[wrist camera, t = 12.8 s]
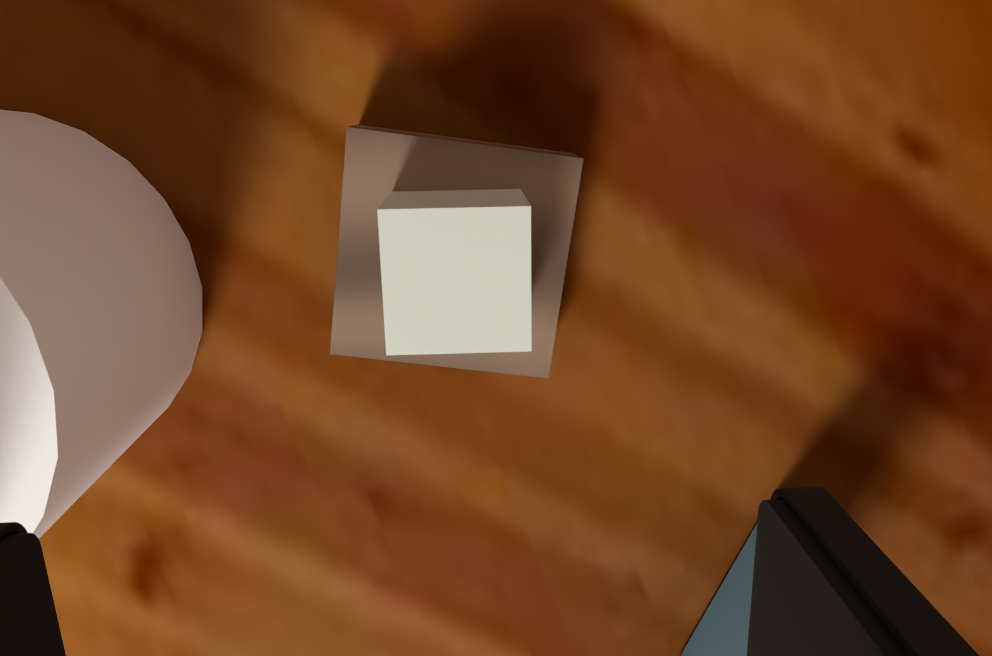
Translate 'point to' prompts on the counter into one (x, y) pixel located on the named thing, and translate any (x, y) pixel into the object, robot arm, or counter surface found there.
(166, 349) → the white bottle-shaped block
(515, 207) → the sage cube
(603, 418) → the counter surface
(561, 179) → the pinkish brown square block
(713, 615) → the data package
